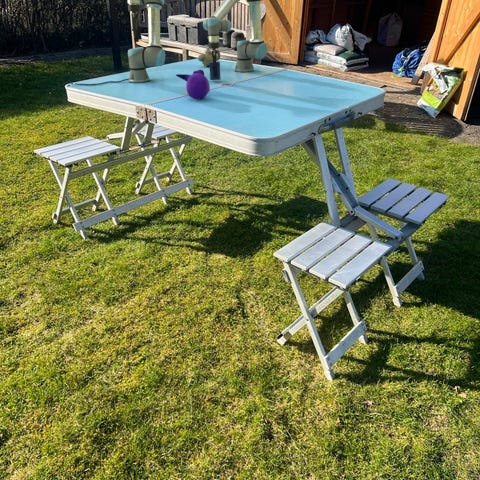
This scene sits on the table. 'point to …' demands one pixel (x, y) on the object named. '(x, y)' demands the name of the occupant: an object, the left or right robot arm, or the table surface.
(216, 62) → the brick
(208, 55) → the teapot
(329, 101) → the table surface
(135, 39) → the left robot arm
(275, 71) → the table surface
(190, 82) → the toy
